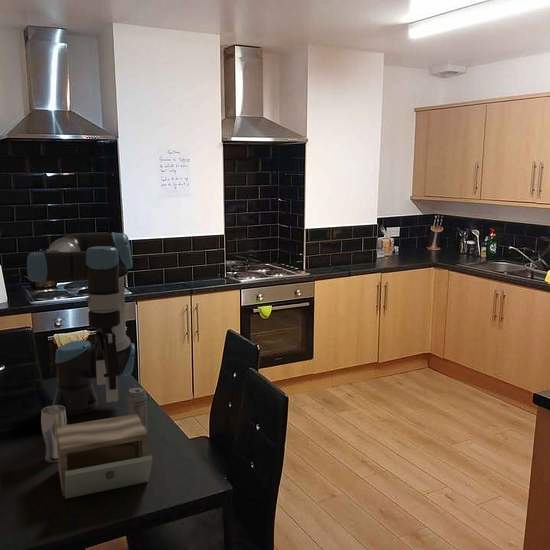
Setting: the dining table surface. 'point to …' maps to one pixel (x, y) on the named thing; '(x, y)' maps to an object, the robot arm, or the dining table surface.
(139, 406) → the energy drink can
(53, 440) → the beer glass
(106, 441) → the cabinet
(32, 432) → the dining table surface
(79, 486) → the door
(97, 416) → the dining table surface
